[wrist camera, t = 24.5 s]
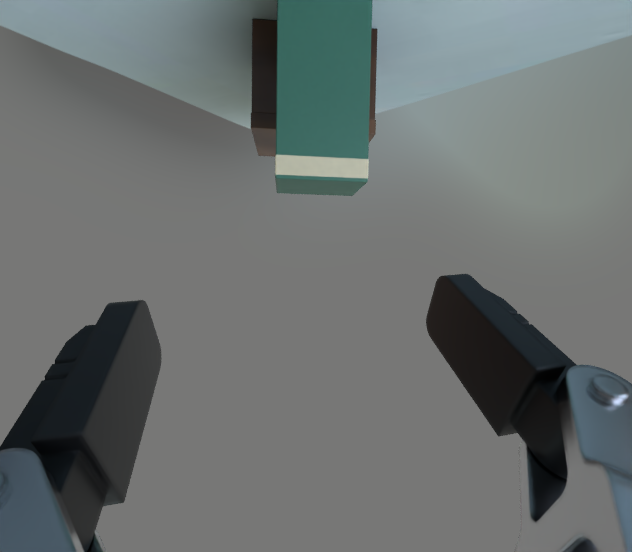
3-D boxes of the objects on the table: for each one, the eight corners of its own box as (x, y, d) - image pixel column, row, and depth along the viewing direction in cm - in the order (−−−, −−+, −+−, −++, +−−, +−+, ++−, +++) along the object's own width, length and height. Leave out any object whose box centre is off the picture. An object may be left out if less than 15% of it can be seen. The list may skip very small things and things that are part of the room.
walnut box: (251, 17, 25) (250, 127, 26) (378, 28, 26) (375, 134, 27) (259, 70, 33) (258, 155, 33) (358, 77, 33) (356, 160, 34)
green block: (278, -72, 21) (272, -60, 12) (365, -61, 21) (419, -43, 13) (278, 131, 30) (275, 219, 22) (339, 135, 31) (359, 221, 22)
